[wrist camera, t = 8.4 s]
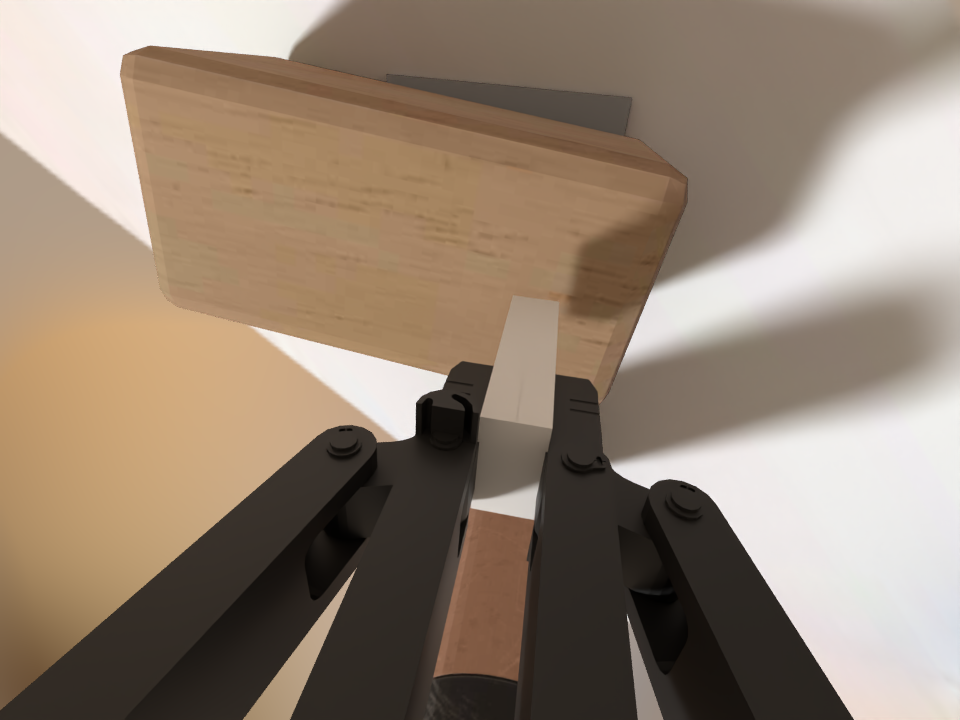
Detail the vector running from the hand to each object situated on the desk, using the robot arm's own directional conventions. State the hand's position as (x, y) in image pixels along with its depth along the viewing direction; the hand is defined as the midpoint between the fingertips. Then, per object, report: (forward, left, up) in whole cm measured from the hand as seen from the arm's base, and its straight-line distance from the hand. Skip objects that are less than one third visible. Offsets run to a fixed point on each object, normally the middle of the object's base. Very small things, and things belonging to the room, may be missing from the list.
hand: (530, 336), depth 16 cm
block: (-4, 0, -7) cm, 8 cm away
